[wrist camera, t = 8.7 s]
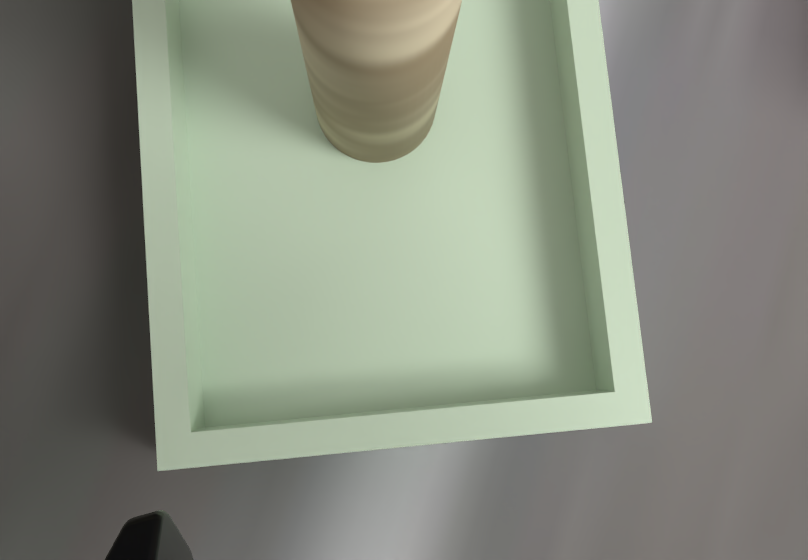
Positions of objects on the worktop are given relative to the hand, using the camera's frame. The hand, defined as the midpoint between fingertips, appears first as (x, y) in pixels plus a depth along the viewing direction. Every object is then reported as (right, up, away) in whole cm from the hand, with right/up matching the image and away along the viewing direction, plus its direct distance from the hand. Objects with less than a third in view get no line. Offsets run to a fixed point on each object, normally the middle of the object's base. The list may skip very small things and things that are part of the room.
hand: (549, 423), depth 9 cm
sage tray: (-2, +5, +12) cm, 13 cm away
